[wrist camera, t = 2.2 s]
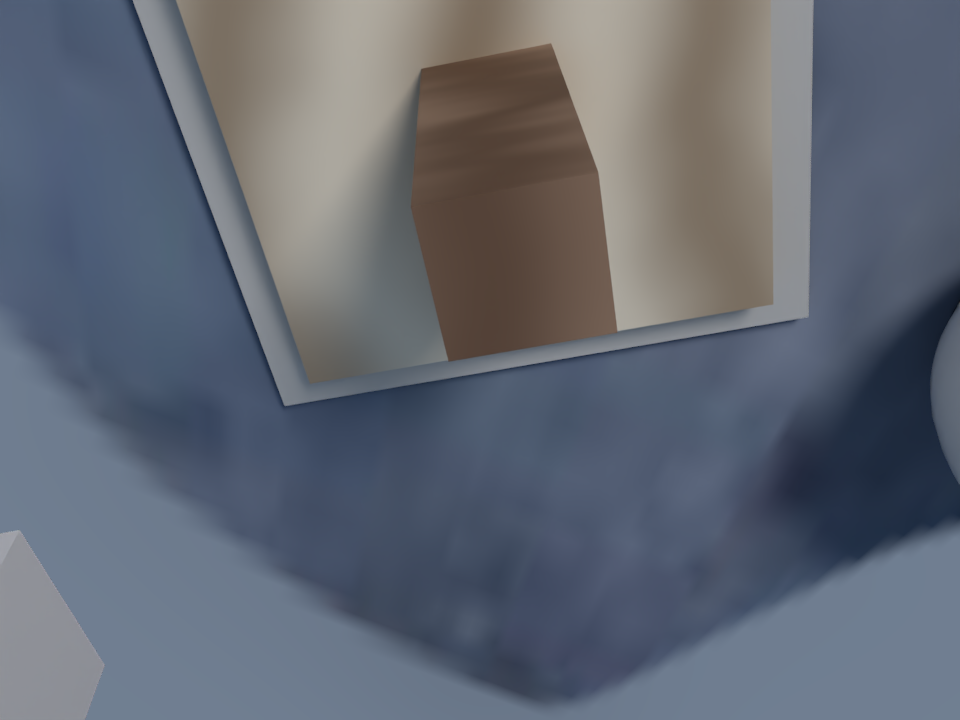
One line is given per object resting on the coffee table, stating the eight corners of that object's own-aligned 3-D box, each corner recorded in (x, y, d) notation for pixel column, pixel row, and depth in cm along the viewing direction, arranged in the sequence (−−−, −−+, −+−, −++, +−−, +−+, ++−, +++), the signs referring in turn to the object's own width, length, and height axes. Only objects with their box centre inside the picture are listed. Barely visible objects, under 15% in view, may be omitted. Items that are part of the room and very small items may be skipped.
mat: (811, -354, 21) (819, -356, 21) (803, 309, 31) (808, 317, 31) (69, -188, 23) (62, -187, 22) (286, 397, 32) (284, 406, 32)
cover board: (753, -263, 22) (951, -273, 13) (762, 286, 30) (888, 497, 21) (145, -131, 23) (-33, -63, 14) (314, 363, 31) (264, 593, 23)
